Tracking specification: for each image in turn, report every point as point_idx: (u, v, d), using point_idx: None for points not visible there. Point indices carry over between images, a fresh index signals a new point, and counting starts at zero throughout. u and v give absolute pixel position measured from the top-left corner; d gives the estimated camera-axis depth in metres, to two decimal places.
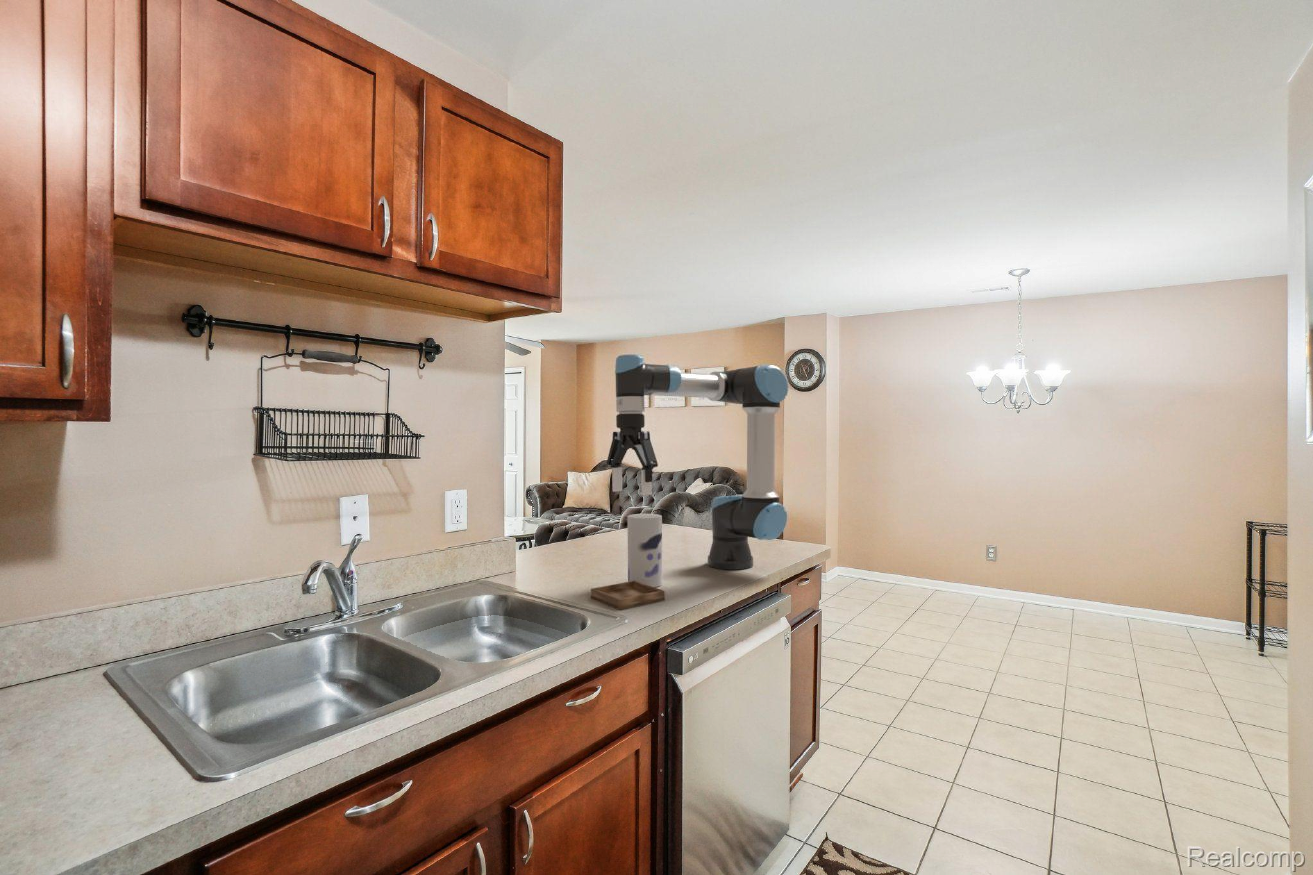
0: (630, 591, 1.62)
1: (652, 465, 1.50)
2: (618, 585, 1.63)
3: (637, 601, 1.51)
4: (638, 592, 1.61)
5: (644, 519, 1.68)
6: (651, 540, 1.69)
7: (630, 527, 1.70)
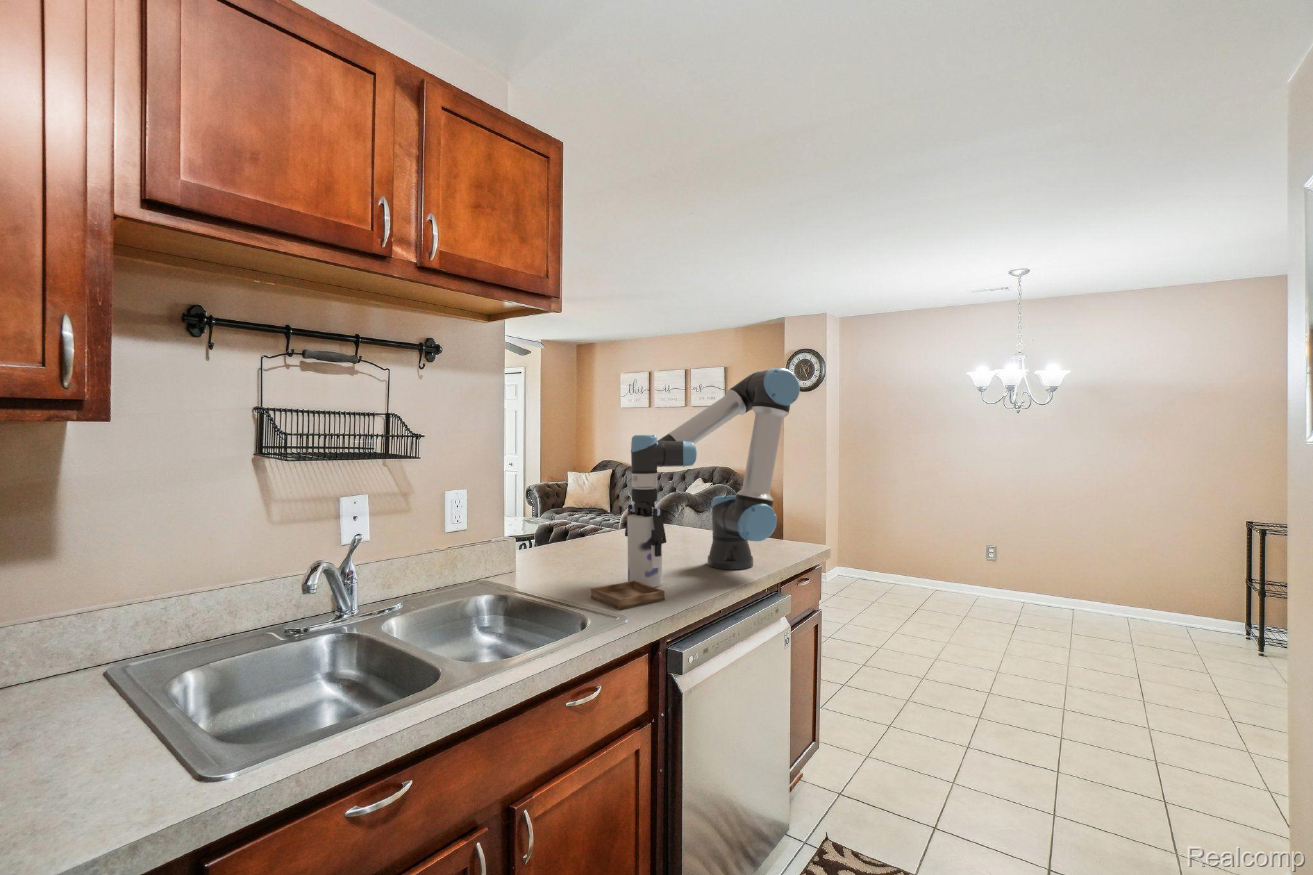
0: (630, 591, 1.62)
1: (661, 542, 1.66)
2: (618, 585, 1.63)
3: (637, 601, 1.51)
4: (638, 592, 1.61)
5: (644, 519, 1.68)
6: (651, 540, 1.69)
7: (630, 527, 1.70)
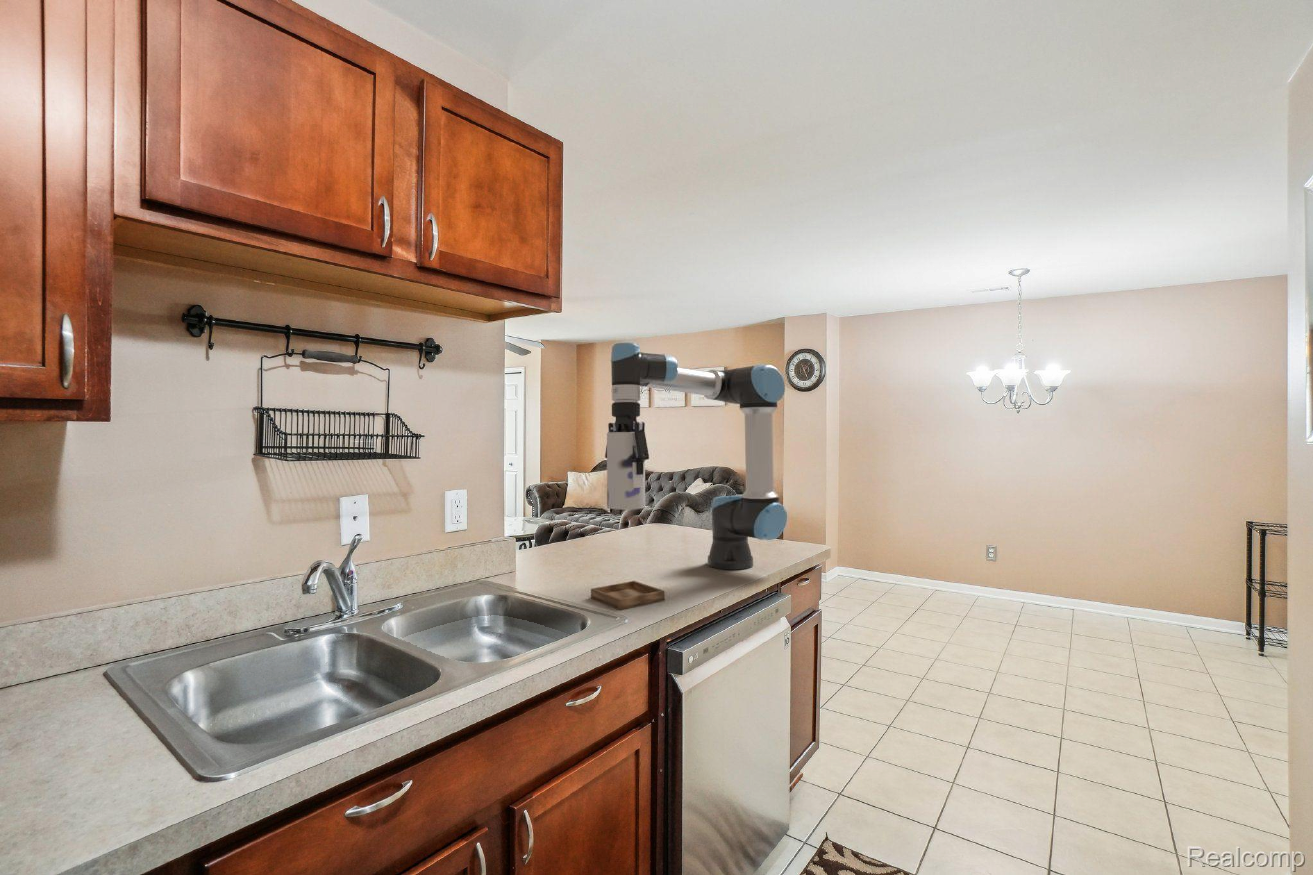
0: (630, 591, 1.62)
1: (643, 457, 1.50)
2: (618, 585, 1.63)
3: (637, 601, 1.51)
4: (638, 592, 1.61)
5: (624, 433, 1.53)
6: (632, 457, 1.53)
7: (609, 443, 1.55)
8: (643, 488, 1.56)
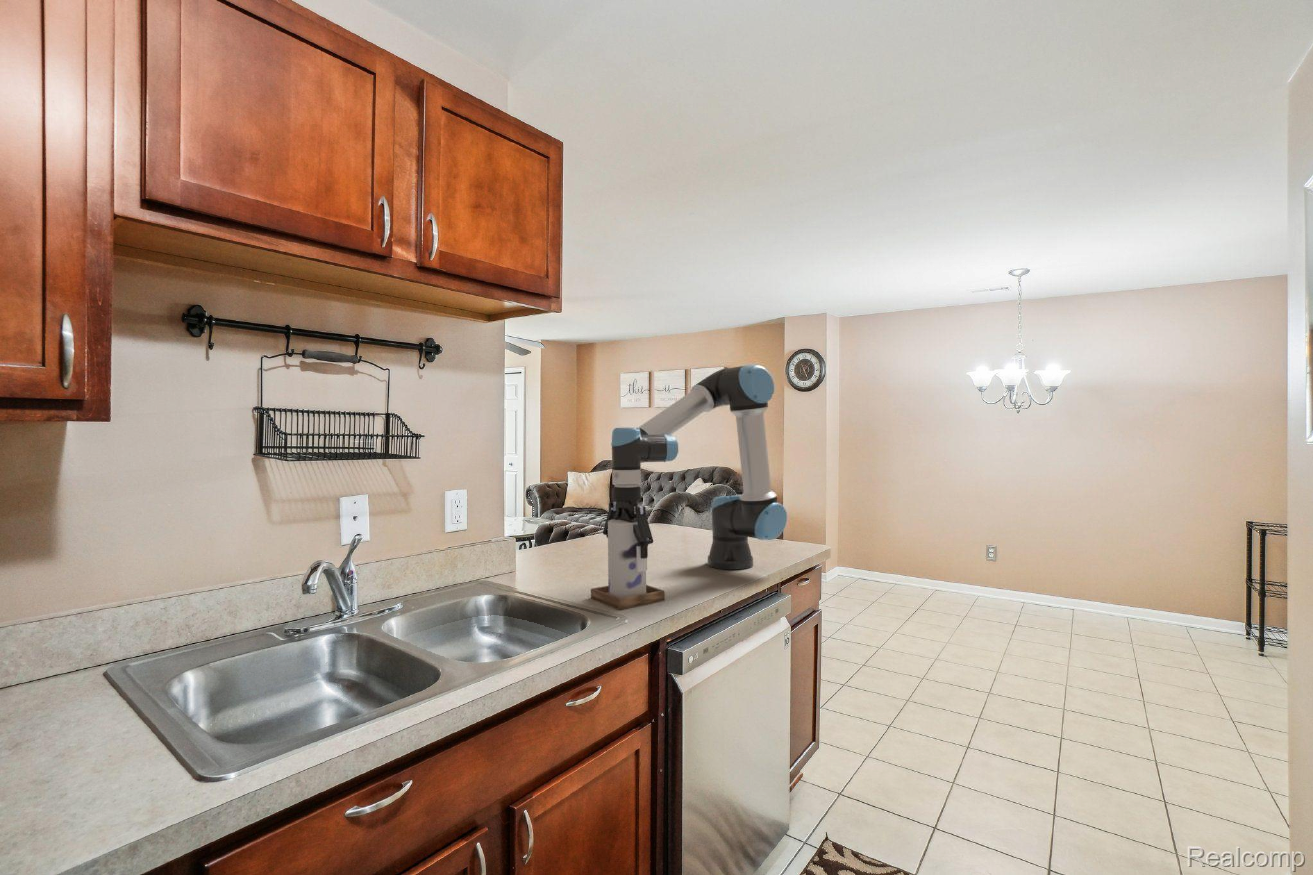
0: None
1: (647, 542, 1.49)
2: None
3: (637, 601, 1.51)
4: None
5: (626, 524, 1.53)
6: (634, 548, 1.53)
7: (610, 533, 1.55)
8: (644, 577, 1.56)
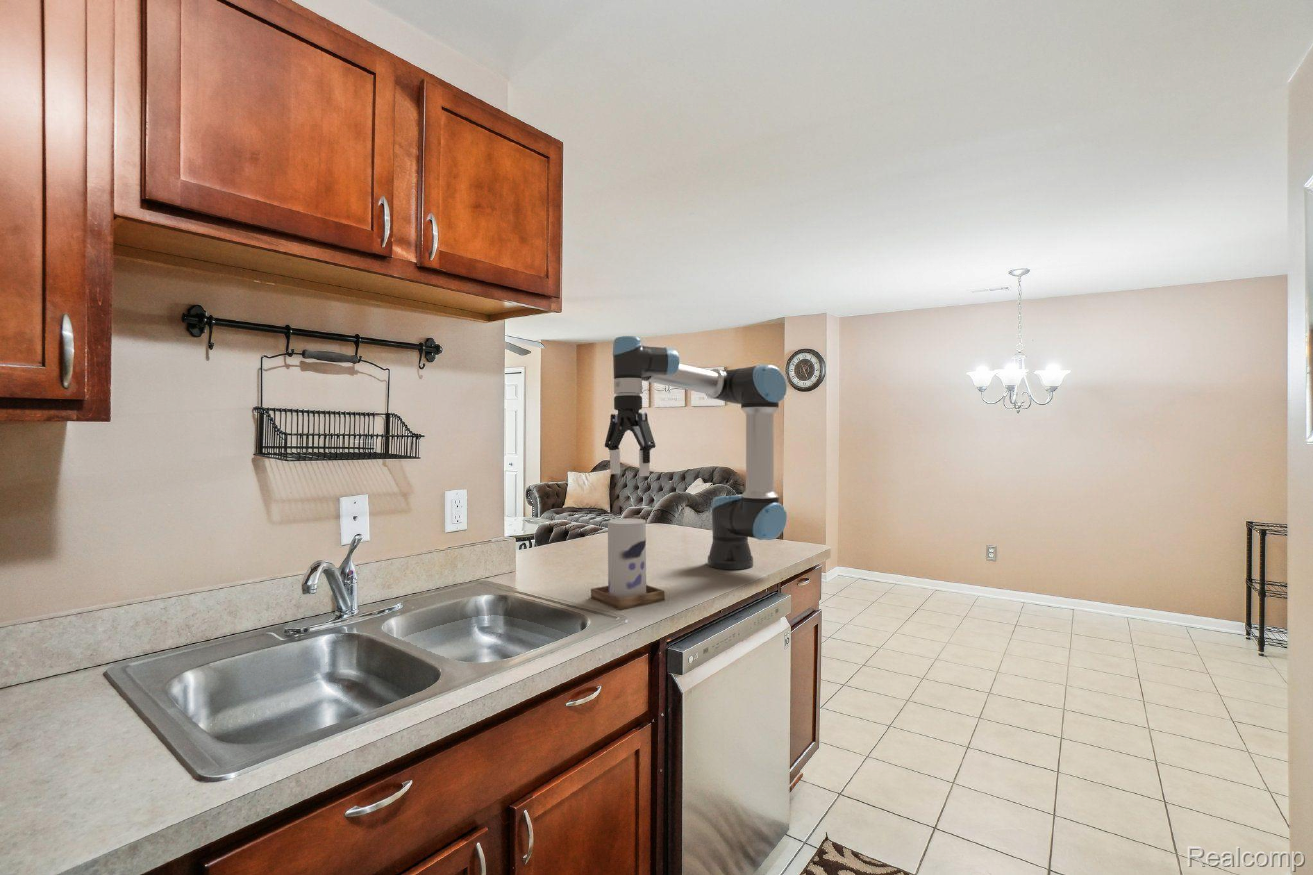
0: None
1: (650, 446, 1.51)
2: None
3: (637, 601, 1.51)
4: None
5: (625, 525, 1.53)
6: (634, 548, 1.53)
7: (610, 533, 1.55)
8: (644, 577, 1.56)
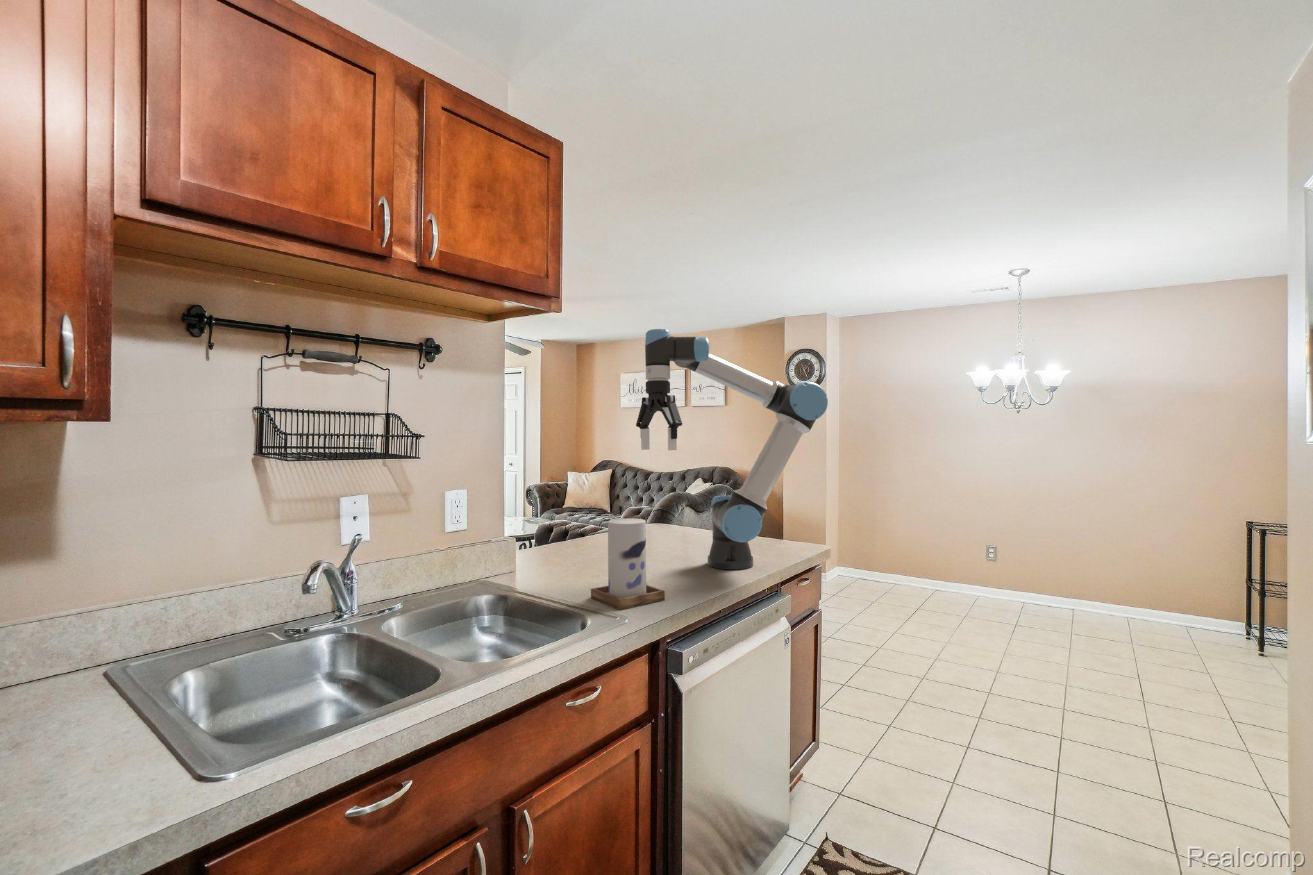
0: None
1: (677, 424, 1.74)
2: None
3: (637, 601, 1.51)
4: None
5: (626, 525, 1.52)
6: (634, 548, 1.53)
7: (610, 533, 1.55)
8: (644, 577, 1.56)
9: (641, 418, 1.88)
